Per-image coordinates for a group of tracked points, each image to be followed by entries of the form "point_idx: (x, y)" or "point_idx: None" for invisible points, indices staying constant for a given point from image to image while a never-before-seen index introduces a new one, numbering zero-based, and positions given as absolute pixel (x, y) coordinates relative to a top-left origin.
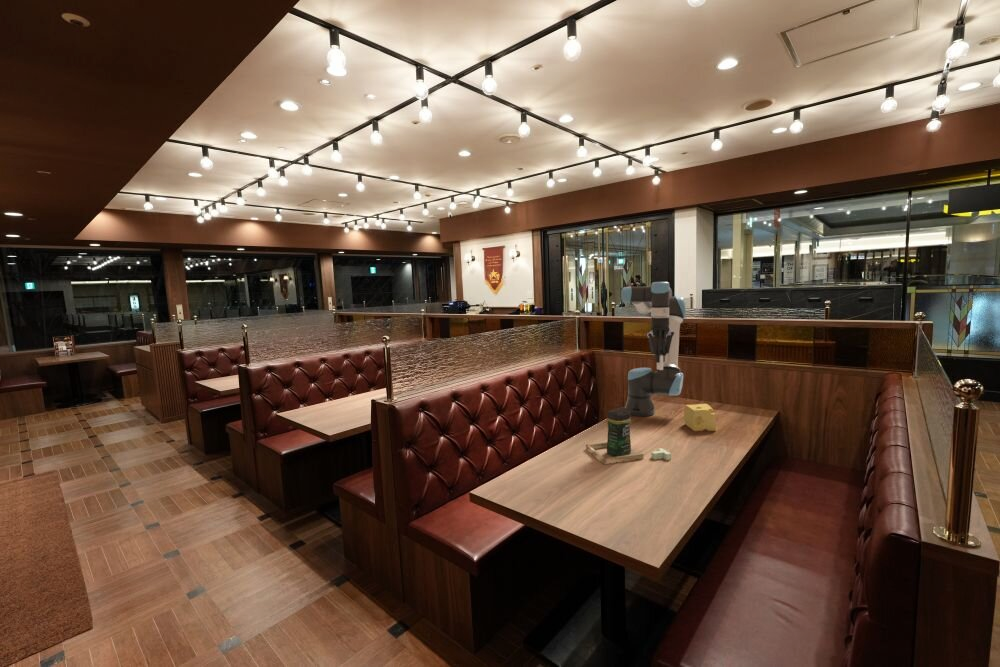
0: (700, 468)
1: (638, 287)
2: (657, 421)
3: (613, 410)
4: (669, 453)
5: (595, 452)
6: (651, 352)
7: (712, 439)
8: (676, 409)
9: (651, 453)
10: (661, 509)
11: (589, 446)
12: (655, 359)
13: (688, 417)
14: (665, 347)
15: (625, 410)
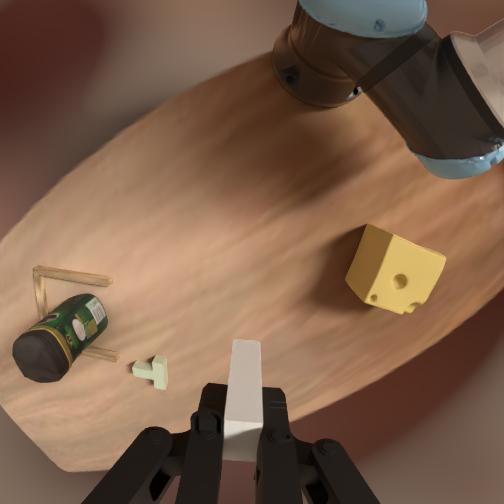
0: None
1: None
2: (313, 161)
3: (19, 363)
4: (162, 388)
5: (39, 312)
6: (140, 439)
7: (335, 340)
8: None
9: (133, 365)
10: (88, 447)
11: (36, 280)
12: (200, 399)
13: (367, 253)
14: (336, 492)
15: (46, 374)
